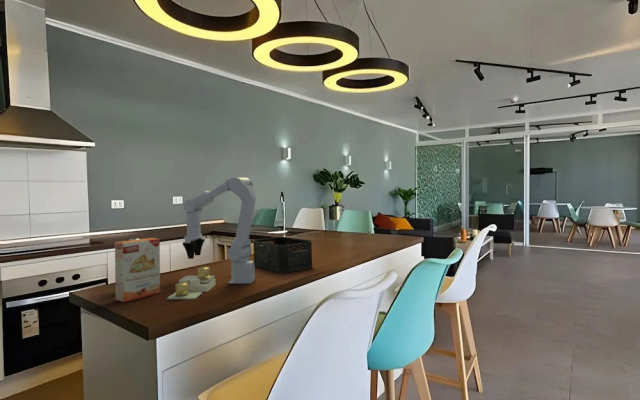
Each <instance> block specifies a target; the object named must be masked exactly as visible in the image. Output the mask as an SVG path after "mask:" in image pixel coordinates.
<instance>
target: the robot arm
mask: <svg viewBox="0 0 640 400" xmlns="http://www.w3.org/2000/svg"><path fill="white" fill-rule="evenodd" d="M254 186H255V185H254V183H253V181H252V180H251V179H250V177H249V178H248V177H246V176H245V177H241V176H240V177H239V176H233V177H231V178H229V179H226V180H225V181H224V182H222V183H221V184H220V185H217V186H216V187H215V188H213V189H212V190H202V191H201V193H199V194H198V195H194V196H193V198H187V199H185V200H184V202H183V210H184V211H185V212H186V235H185V236H184V242H183V241H182V246H183V247H184V249H185V252H186V255H187V259H189V260H193V259H194V258H195V256H201V253H202V249H203V246H204V243H205V238H203V233H201V229H202V228H201V214H202V210H203V208H205V207H206V206H209V205H210V204H212V203H214V201H215V198H217V197H220V196H222V195H223V194H225V193H227V192H229V191H230V192H232V193H233V194H234V195H236V196H237V197H238V198H239V199H240V200H241V205H240V210H239V216H238V220H237V228H236V233H235V238H234V239H233V240H232V241H231V245H230V247H229V249H228V250H227V257H228V258H229V260H230V263H231V265H230V266H231V279H230V281H229V282H228V284H230V285H231V284H232V285H233V284H235V285H236V284H239V285H240V284H249V285H250V284H252V283H253V282H254V281H255V280H256V272H255V271H256V270H255V269H256V268H255V267H256V266H255V264H254V260H250V256H251V254H252V241H251V240H250V234H251V229H252V224H253V223H252V221H253V217H254V210H255V205H256V200H257V198H256V197H257V196H256V194H255V190H254Z"/></svg>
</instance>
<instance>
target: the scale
mask: <svg viewBox="0 0 640 400" xmlns="http://www.w3.org/2000/svg"><path fill="white" fill-rule="evenodd" d="M183 282H187V283H188V292H202V293H208V291H210V290H211V289H212V288H214V287H215V286H216V284H217V283H216V278H213V279H212V280H211V281H209V282H200V279H183ZM180 283H182V282H180Z"/></svg>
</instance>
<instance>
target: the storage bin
mask: <svg viewBox="0 0 640 400" xmlns="http://www.w3.org/2000/svg"><path fill="white" fill-rule="evenodd" d="M273 241H274V242H273ZM269 242H273V243H269ZM312 244H313V243H312V240H309V239H308V240H307V239H302V238H294V237H286V236H277V237H269V238H260V239H259V238H258V239H253V261H254V264H255V267H258V268H262V269H265V270H268V271H272V272H275V273H281V274H284V273H288V274H289V273H294V272H298V271H304V270H308V269H310V268H313V247H312V246H313V245H312Z"/></svg>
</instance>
